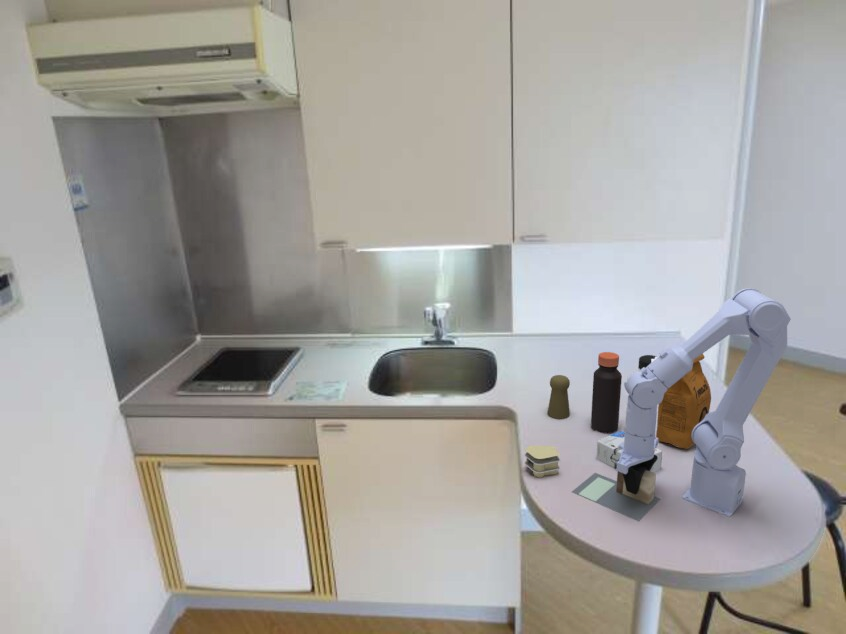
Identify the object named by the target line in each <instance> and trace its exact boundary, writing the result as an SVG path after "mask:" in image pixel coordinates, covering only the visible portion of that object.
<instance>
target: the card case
mask: <svg viewBox="0 0 846 634" xmlns="http://www.w3.org/2000/svg"><path fill="white" fill-rule="evenodd" d="M656 479H657V473H656V472H654V473H653V472H650V471H647V470H646V471H645V472H644V474H643V476H642V479H641V482H640V487H639V490H638V493H637V494H636V495H635V494H633V493H630V492H628V491H627V490H626V486H625V481H624V477H623V474H622V473H621V472H619V471H617V475H616V481H617V487H616V492H618V493H621V494H624V495H626V496H629V497H631V498H634V499H636V500H638V501H641V502H643V503H646V504H649V503H650V502H651V501H652V500H653V499H654V496H655V489H656Z"/></svg>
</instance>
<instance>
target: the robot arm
mask: <svg viewBox="0 0 846 634" xmlns="http://www.w3.org/2000/svg"><path fill="white" fill-rule="evenodd" d="M790 321H791V316H790V315H789V314H788V311H787V310H786V308H785V306H784V305H783V304H782V303H780V301H777V300H774V299H772V298H770V297H769V296H767V295H765V294H764V293H762V292H761V291H759V290H758V289H756V288H752V287H751V288H749V287H747V288H743V289H740V290H739V291H737V292H735V294H733V296H732V297H730V298H729V299H726V301H724V302H723V304H722V305H721V307H720V308H719V310H718V311H717V312H716V313H715V314H714V315H713V316H712V317H711V318H710V319H708V321H706V323H704V325H702V326H701V327H700V328H699V329H698V330H697V331H696V332H694V333H693V335H691V336H690V337H689V338H688V339H687V340H686V341H685V342H684V343H683V344H682V345H680V346H670V347H669V348H667V349H666V350H665V349H664V348H663V349H662V350H661V351H659V353H658V354H659V355H658V356H657V357H658V358H657V359H655V360H654V361H653V362H652V363H651V364H649V365H648V366H647V367H646V368H645V367H643V368H642V369H641V370H640V371H639V372H637V371H635V372H632V373H631V374H630V375H629V376H627V377H628V378H627V379H626V381H625V382H624V383H623V385H624V389H625V391H626V393H627V394H628V395H627V403H626V405H627V407H626V410H625V414H626V415H625V426H624V433H625V438H624V442H622V443H620V444H619V446H618V448H619V449H622V452H621V456H620V459H619V460H618V462H617V469H615V470H616V472H618V471H619V472H621V473H622V474H623V477H624V481H625V486H626V490H627V491H628V492H630V493H633V494H635V495H636V494H637V493H638V490H639V487H640V482H641V479H642V476H643V474H644V472H645V471H646V470H647V471H650V470H651V468H652V466H653V465H654V463H655V462H656V461H657V458H658V457H657V456H656V455H654V453H655V448H658V447H659V446H658V445H659V441H658V438H656V429H657V426H656V425H657V418H658V406H659V404H660V403H661V402H662V400H663V397H664V393H665V392H666V391H667V389H668V388H670V387H671V386H672V385H673V384H675V383H676V382H677V381H678V380H680V379H681V378H682V377H683V376H685V375H686V374H687V373H688V372H689V371H691V370H692V367H693V361H694V359H696V358H697V357H699V356H700V355H701V354H703V355H704V353H706V352H707V351H709V350H710V349H711V348H713V347H714V346H716V345H717V344H719V342H721V341H723V340H724V339H725V338H726V337H728V336H729V335H731V336H732V335H739V336H740V335H743V336H748V337H749V339H750V340H751V344H750V346H749V348H748V349H747V351H746V353H745V355H744V357H743V359H742V360H741V363H740V365H739V366H738V368H737V370H736V372H734V375H733V377H732V379H731V381H730V383H729V385H728V387H727V389H726V390H725V392H724V394H723V396H722V398H721V400H720V402H719V404H718V405H717V407H716V409H715V410H714V411H711V412H709V413H708V414H706V416H705V418H704V419H703V420H702V421H701V422H700V423H699V424H697V425H696V426H695V427H694V429H693V431H692V440H693V442H694V443H695V444H694V445H695V446H696V447H695V451H694V452H693V453H694V455H693V462H692V463H693V464H692V470H691V471H692V472H691V480H690V487H689V488H688V489H687V491H685V493H683V495H682V496H681V498H682V500H685V501H687V502H691V503H692V504H696V505H698V506H701V507H703V508H706V509H708V510H710V511H713V512H716V513H719V514H721V515H724V516H727V517H732V516H733V514H734V513H735V511H736V510H737V509H738V507H739V506H740V505H741V503H742V502H743V501H744V489H745V483H746V474H747V473H746V469H744V468H742V467H741V466H738V465H737V464H738V463H739V462H740V460H741V455H742V454H741V450H742V447H743V444H744V443H745V435H744V425H745V423H746V421H747V419H748V417H749V415H750V414H751V412H752V410H753V408H754V406H755V404H756V403H757V401H758V399H759V397H760V396H761V394H762V392H763V390H764V388H765V387H766V386H767V385H766V384H767V383H768V382H769V379H770V378H771V376H772V374H773V372H774V371H775V369H776V367H777V365H778V363H779V361H780V359H781V358H782V356H783V355H784V353H785V351H786V349H787V346H788V325H789V323H790Z"/></svg>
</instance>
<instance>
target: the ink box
mask: <svg viewBox="0 0 846 634" xmlns="http://www.w3.org/2000/svg"><path fill="white" fill-rule="evenodd" d="M624 438H625V431H622V430H620V431H616V432H613V433H611V434H610V435H608V436H605V437H603V438H601V439H598V440H597V444H596V459H597V460H599V461H601V462H603V463H604V464H606V465H609V466H610V467H612V468H614V469H615V470H617V462H618V460H619V459H620V456H621V452H622V449H619V448H618V446H619V444H620V443H622V442H624ZM654 455H656V456H657V457H658V458H657V461H656V462H655V463H654V465H653V466H652V468H651V470H650V472H653V473H656V472H658V471H660V470H661V468H662V462H663V450H661V449H660V448H658V447H656V448H655V453H654Z"/></svg>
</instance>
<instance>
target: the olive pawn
mask: <svg viewBox="0 0 846 634" xmlns="http://www.w3.org/2000/svg"><path fill="white" fill-rule="evenodd" d="M570 385H571V382H570V379H569V377H567V376H565V375H562V374H555V375H554V376H551V378H550V381H549V386H550V387H551V391H550V396H549V400H548V402H549V403H548V407H547V413H546V414H547V416H548V417H550V418H551V419H555V420H566V419H568V418H570V416H571V412H570V401H569V393H568V389H569V388H570Z"/></svg>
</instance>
